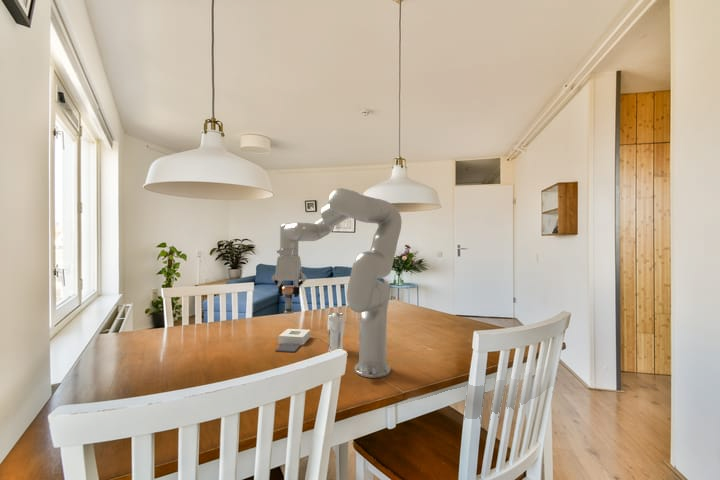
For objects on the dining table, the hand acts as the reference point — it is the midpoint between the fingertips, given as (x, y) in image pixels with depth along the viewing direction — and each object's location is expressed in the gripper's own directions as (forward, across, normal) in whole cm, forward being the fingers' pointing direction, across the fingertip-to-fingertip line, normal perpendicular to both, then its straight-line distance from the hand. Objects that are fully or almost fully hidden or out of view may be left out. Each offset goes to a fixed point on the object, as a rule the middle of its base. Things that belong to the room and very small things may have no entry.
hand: (288, 295), depth 130 cm
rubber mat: (+22, 0, 0) cm, 22 cm away
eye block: (+22, -1, +10) cm, 25 cm away
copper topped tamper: (+7, 0, 0) cm, 7 cm away
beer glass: (+22, +20, +1) cm, 30 cm away
